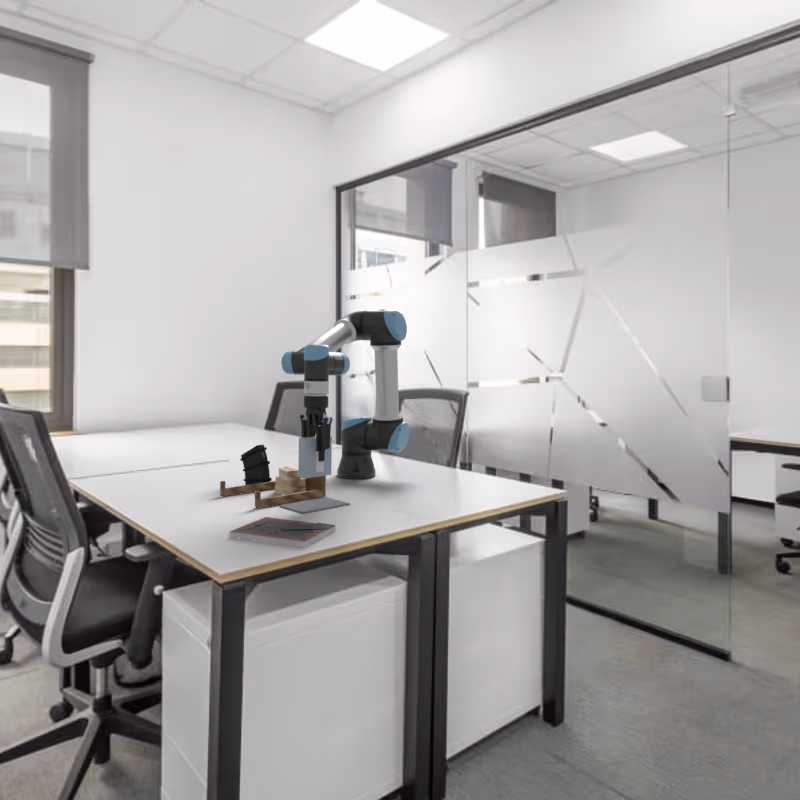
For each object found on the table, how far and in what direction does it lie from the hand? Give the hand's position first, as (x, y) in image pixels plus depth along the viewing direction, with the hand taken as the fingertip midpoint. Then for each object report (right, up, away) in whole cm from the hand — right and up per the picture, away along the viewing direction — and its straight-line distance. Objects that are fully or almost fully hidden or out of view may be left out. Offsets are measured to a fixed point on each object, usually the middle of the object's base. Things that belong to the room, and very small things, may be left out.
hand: (315, 470), depth 191 cm
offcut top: (-11, -4, +17) cm, 21 cm away
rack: (-16, -10, +12) cm, 23 cm away
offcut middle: (-11, -7, +17) cm, 22 cm away
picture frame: (-4, -14, -31) cm, 34 cm away
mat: (0, -11, +1) cm, 11 cm away
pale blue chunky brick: (0, -2, 0) cm, 2 cm away
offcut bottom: (-11, -10, +18) cm, 23 cm away
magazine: (-25, -9, +28) cm, 39 cm away
